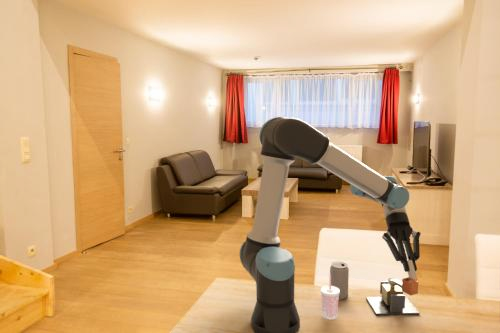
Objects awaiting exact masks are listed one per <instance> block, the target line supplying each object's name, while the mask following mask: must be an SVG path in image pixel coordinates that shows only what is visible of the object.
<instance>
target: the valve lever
mask: <svg viewBox="0 0 500 333" xmlns="http://www.w3.org/2000/svg"><path fill="white" fill-rule="evenodd" d="M387 281H388V284H389V285H391V286H396V285H397V286H399V287H400V288H401V289H402V291H403V293H405V294H407V295H409V296H413V295H414V296H415V295H418V293H419V281H418V280H417V281H416V280H414V279H412V278H410V277H409V276H408V277H404V278H402V280H399V279H396V278H393V277H390V278H388V280H387Z"/></svg>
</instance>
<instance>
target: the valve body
mask: <svg viewBox="0 0 500 333" xmlns="http://www.w3.org/2000/svg"><path fill="white" fill-rule="evenodd" d="M379 286H380V287H379V289H380V290H379V294H380V295H381V296H365V299H366V301H367V303H368V305H369V307H370V309H371V310H372V312H373V313H374V314H375V316H376V317H383V316H384V317H385V316H386V317H387V316H388V317H389V316H391V317H394V316H420V313H421V312H420V311H419V310H418V309H417V308H416V306H415V305H414V304H413V303H412V302H411V301H410V300H409V299H408V297H407V296H406V295H405V294H404V292H403V291H402V288H401V287H399V286H397V285H396V286H391V285H389V284H388V280H385V281H384V280H383V281H382V280H381V281H380V284H379Z"/></svg>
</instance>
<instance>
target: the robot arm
mask: <svg viewBox="0 0 500 333" xmlns="http://www.w3.org/2000/svg"><path fill="white" fill-rule="evenodd" d="M258 137H259V141H260V145H261V150H260V157H261V158H262V160H263V165H262V170H261V177H260V182H259V183H260V184H259V190H258V194H257V199H256V200H257V201H256V205H255V206H256V207H255V212H254V218H253V223H252V224H253V225H252V229H251V230H250V231H249V232H247V233H246V239H245V241H244V242H243V243H242V244H241V246H240V248H239V259H240V262H241V265H242V266H243V268H244V269H245V271H246V272H247V273H248V274H249V275H250V276H251V277H252V279H253V280H254V282H255V284H256V285H255V286H256V288H255V289H256V302H255V305H254V308H253V311H252V314H251V318H250V319H251V320H250V324H251V326H250V327H251V328H252V330H253V332H254V333H298V332H299V330H300V328H301V327H300V326H301V319H300V315H299V312H298V309H297V307H296V306H297V305H296V303H295V272H296V271H295V270H296V265H295V259H294V256H293V254H292V253H291V252H290V251H289V250H287V249H285V248H281V238H280V236H279V235H278V230H279V226H280V221H281V216H282V209H283V204H284V198H285V192H286V187H287V182H288V181H287V180H288V176H289V171H290V170H289V169H290V165H292V164H293V163H294V162H296V158H298V159H301V160H303V161H305V162H307V163H309V164H311V165H315V164H317V165H319V166H320V167H322V168H323V169H325V170H326V171H328V172H330V173H332V174H333V175H335V176H337V177H338V178H340V179H341V180H343V181H345V182H347V183H348V184H350V188H349V189H350V192H351V193H352V195H354V196H357V197H359V198H364V199H368V200H371V201H373V202H376V203H379V204H380V205H381V207H382V210H383V215H384V218H385V223H386V226H387V231H386V232H384V233H383V235H382V236H381V238H382V239H383V240H384V241H385V242H386V244H387V246H388V248H389V250H390V252H391V254H392V256H393V257H394V259H395V261H396V262H400V264H402V266H403V270H404V272H406V273H407V275H408V277H410V278H412V279H414V280H416V281H418V277H417V269H418V267H417V264H416V262H417V261H418V260H419V259H420V257H421V256H420V255H421V254H420V236H421V234H422V233H421V232H420V231H414V230H413V228H412V226H411V222H410V221H409V217H408V214H407V210H406V205H408V203H409V200H410V192H409V190H408V189H407V187H405V186H402V185H400V184H398V180H397V178H395V177H394V176H391V175H388V176H387V175H384V176H383V175H381V174H380V173H378V172H377V171H375V170H374V169H372V168H370V167H369V166H367V165H366V164H364V163H363V162H361V161H360V160H358V159H356V158H354V157H353V156H352V155H351V154H348V153H347V152H346V151H344V150H342V149H341V148H340V147H338V146H336V145H335V144H333V143H332V142H331V140H330V138H329V137H328V136H327V135H325V134H324V133H322V132H321V131H319V130H317V129H316V128H315V127H314V126H312V125H310V124H309V123H308V122H306V121H304V120H302V119H300V118H297V117H285V116H284V117H283V116H282V117H281V116H277V117H274V118H270V119H268V120H267V121H265V122H264V124H262V126H261V127H260V130H259V136H258ZM392 238H393V239H392ZM411 238H412V244H411ZM394 240H395V242H394ZM412 246H413V247H412Z"/></svg>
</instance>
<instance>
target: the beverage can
mask: <svg viewBox="0 0 500 333" xmlns="http://www.w3.org/2000/svg"><path fill="white" fill-rule="evenodd" d="M349 268H350V267H349V266H348V264H347V263H346V262H343V261H333V262H332V263H331V265H330V268H329V276H330V275H331V286H335V287H337V288H339V290H340V294H339V299H338V301H339V300H341V301H342V300H345V299H346V298H348V296H349V270H350V269H349Z"/></svg>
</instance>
